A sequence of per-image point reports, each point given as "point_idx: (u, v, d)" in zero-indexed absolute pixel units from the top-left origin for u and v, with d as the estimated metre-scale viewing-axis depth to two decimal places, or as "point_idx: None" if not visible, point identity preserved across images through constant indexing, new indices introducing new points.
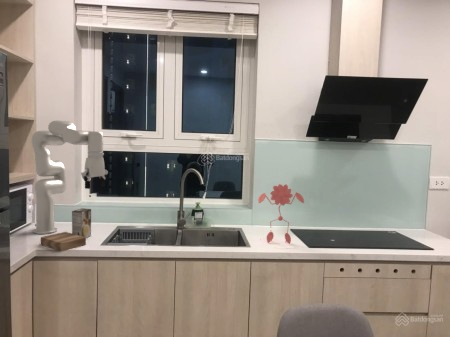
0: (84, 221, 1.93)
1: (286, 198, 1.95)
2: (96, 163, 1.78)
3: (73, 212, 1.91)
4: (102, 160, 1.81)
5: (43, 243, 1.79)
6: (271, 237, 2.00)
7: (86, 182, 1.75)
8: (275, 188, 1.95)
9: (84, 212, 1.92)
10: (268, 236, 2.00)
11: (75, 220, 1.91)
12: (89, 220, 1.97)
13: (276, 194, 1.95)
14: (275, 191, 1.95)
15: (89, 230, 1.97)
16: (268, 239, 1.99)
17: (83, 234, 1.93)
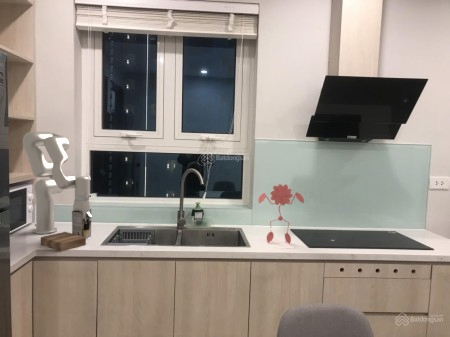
0: None
1: (286, 198, 1.95)
2: None
3: (73, 212, 1.91)
4: None
5: (43, 243, 1.79)
6: (271, 237, 2.00)
7: (88, 224, 1.93)
8: (275, 188, 1.95)
9: None
10: (268, 236, 2.00)
11: (75, 220, 1.91)
12: None
13: (276, 194, 1.95)
14: (275, 191, 1.95)
15: (89, 230, 1.97)
16: (268, 239, 1.99)
17: (83, 233, 1.93)
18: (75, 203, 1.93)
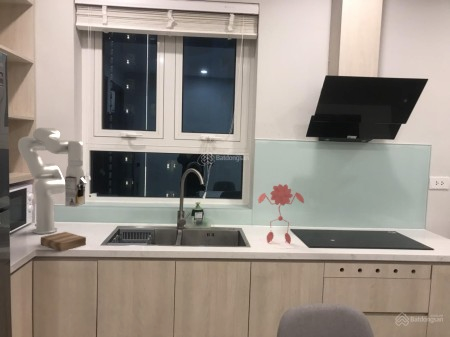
0: None
1: (286, 198, 1.95)
2: None
3: (66, 178, 1.84)
4: None
5: (43, 243, 1.79)
6: (271, 237, 2.00)
7: (81, 190, 1.86)
8: (275, 188, 1.95)
9: None
10: (268, 236, 2.00)
11: (68, 186, 1.84)
12: None
13: (276, 194, 1.95)
14: (275, 191, 1.95)
15: (82, 197, 1.90)
16: (268, 239, 1.99)
17: (77, 200, 1.86)
18: (68, 169, 1.86)
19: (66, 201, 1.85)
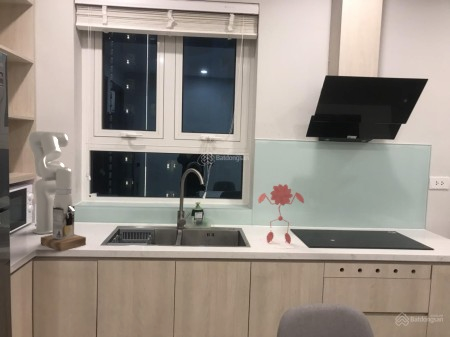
0: None
1: (286, 198, 1.95)
2: None
3: (54, 209, 1.77)
4: None
5: (43, 243, 1.79)
6: (271, 237, 2.00)
7: (70, 219, 1.78)
8: (275, 188, 1.95)
9: None
10: (268, 236, 2.00)
11: (56, 218, 1.77)
12: (72, 218, 1.83)
13: (276, 194, 1.95)
14: (275, 191, 1.95)
15: (71, 229, 1.83)
16: (268, 239, 1.99)
17: (65, 233, 1.78)
18: (56, 197, 1.79)
19: (53, 233, 1.78)
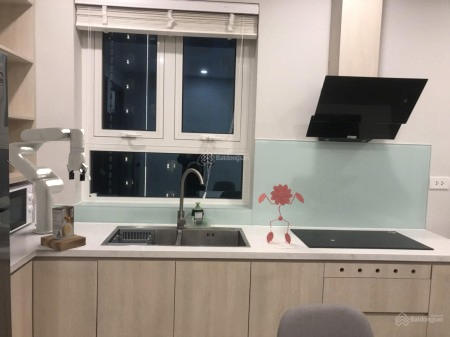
0: (66, 219, 1.79)
1: (286, 198, 1.95)
2: None
3: (53, 209, 1.77)
4: None
5: (43, 243, 1.79)
6: (271, 237, 2.00)
7: (83, 175, 1.94)
8: (275, 188, 1.95)
9: (65, 209, 1.78)
10: (268, 236, 2.00)
11: (55, 218, 1.77)
12: (71, 218, 1.83)
13: (276, 194, 1.95)
14: (275, 191, 1.95)
15: (71, 229, 1.83)
16: (268, 239, 1.99)
17: (65, 233, 1.78)
18: (70, 155, 1.95)
19: (53, 233, 1.78)
